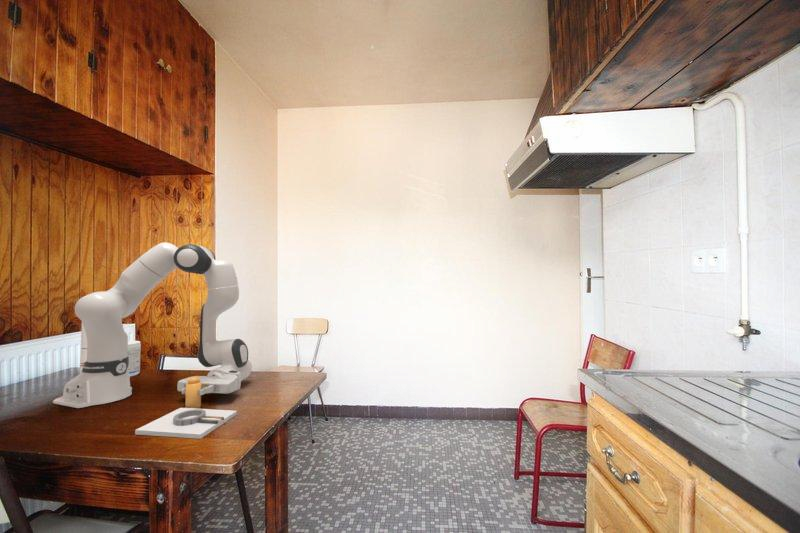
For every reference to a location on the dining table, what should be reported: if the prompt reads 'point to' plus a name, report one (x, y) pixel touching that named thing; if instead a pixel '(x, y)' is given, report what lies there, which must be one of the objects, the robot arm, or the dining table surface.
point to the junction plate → (184, 430)
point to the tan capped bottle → (193, 393)
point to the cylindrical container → (83, 347)
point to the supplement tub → (134, 357)
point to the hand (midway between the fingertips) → (191, 392)
